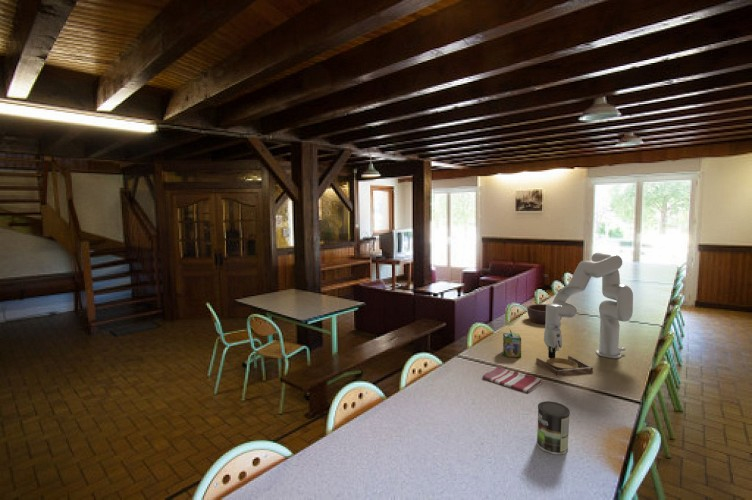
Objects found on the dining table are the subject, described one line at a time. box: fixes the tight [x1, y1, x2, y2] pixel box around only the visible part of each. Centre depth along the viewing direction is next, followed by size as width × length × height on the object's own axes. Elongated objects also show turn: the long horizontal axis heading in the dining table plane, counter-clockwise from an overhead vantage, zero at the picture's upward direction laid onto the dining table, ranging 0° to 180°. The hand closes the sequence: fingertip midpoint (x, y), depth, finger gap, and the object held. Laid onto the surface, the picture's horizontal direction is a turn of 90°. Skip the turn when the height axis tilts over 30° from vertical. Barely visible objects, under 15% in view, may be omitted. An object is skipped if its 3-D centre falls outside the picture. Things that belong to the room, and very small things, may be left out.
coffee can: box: [536, 400, 571, 455], centre depth 137 cm, size 10×10×14 cm
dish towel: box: [482, 365, 543, 394], centre depth 191 cm, size 17×23×3 cm
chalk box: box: [502, 329, 522, 358], centre depth 225 cm, size 9×9×15 cm
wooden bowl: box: [526, 303, 563, 325], centre depth 292 cm, size 25×25×10 cm
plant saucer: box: [546, 357, 579, 370], centre depth 206 cm, size 15×15×3 cm
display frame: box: [535, 354, 594, 377], centre depth 206 cm, size 21×18×2 cm
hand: (551, 358), depth 216 cm, fingers closed
